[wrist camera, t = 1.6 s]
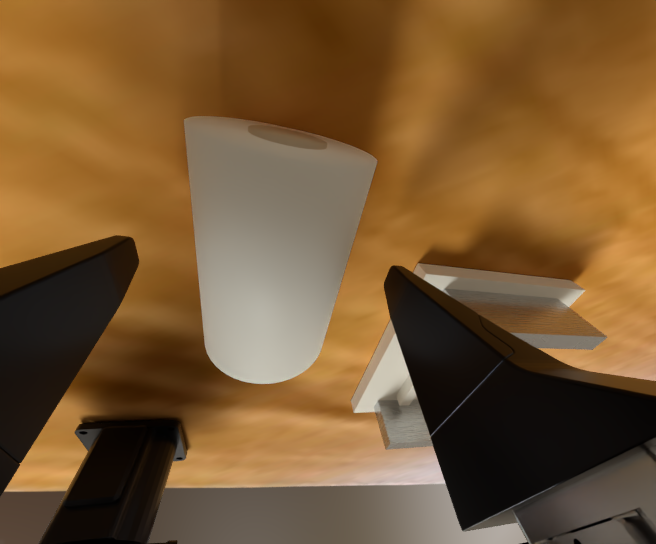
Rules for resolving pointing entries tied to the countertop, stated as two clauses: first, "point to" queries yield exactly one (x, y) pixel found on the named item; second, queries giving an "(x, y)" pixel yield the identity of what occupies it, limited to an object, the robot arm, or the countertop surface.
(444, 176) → the countertop surface
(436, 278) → the holder base
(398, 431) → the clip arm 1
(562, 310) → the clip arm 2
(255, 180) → the paper roll
